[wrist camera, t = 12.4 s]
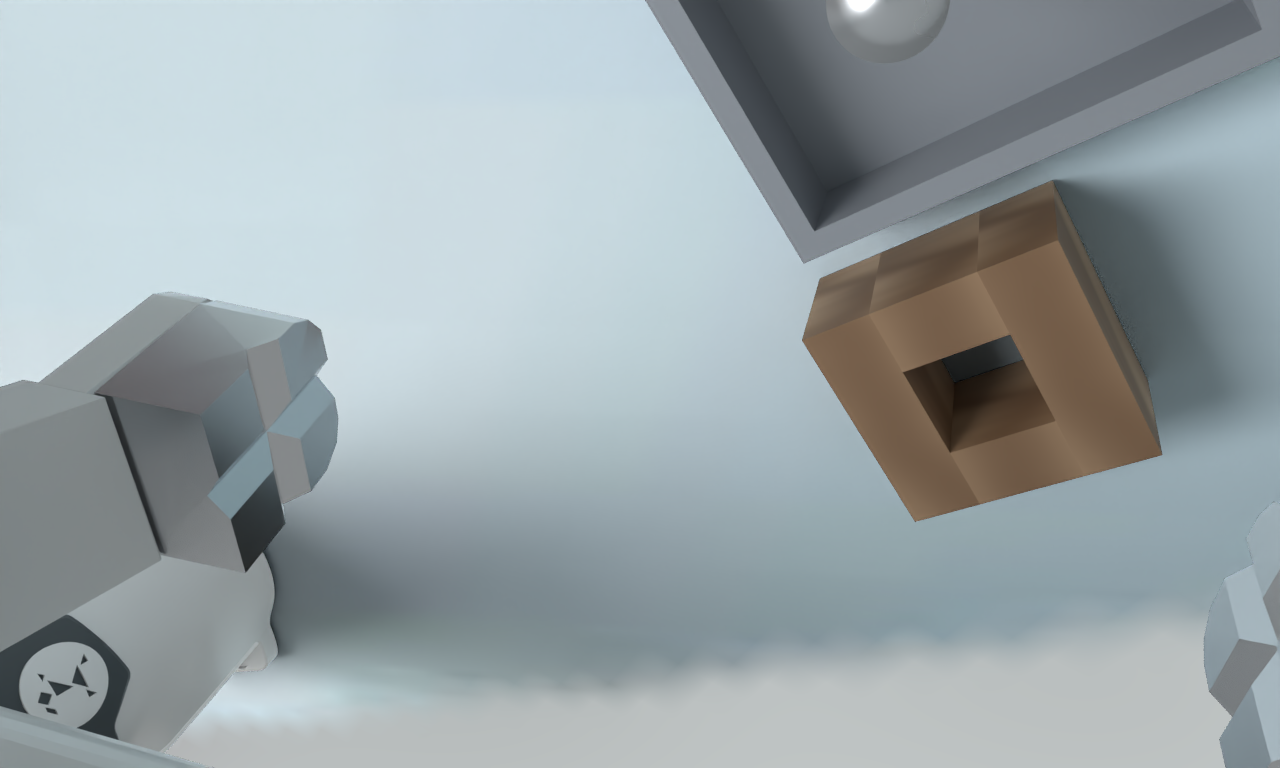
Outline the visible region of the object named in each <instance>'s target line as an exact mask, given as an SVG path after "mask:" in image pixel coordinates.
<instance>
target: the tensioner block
mask: <svg viewBox="0 0 1280 768" xmlns="http://www.w3.org/2000/svg"><path fill="white" fill-rule="evenodd" d="M1007 335H1011V337H1012V339H1013V341H1014V343H1015V345H1016V347H1017V349H1018V350H1019V352H1020V354H1021V356H1022V358H1023V360H1022V361H1019V362H1016V363H1013V364H1010V365H1007V366H1004V367H1001V368H998V369H995V370H992V371H989V372H986V373H983V374H980V375H977V376H974V377H971V378H968V379H965V380H963V381H960V382H957V383H954V381H953V379H952V378H951V376H950V374H949V372H948V371H947V369H946V367H945V365H944V364H943V362H942V360H941V359H942V358H945V357H948V356H951V355H954V354H956V353H959V352H962V351H965V350H968V349H971V348H973V347H976V346H979V345H982V344H985V343H988V342H990V341H993V340H996V339H999V338H1002V337H1005V336H1007ZM802 341H803V343H804V344H805V346H806V347H807V349H808V351H809V352H810V354H811V356H812V357H813V359H814V360H815V362H816V364H817V365H818V367H819V368H820V370H821V372H822V373H823V375H824V376H825V378H826V380H827V381H828V383H829V384H830V386H831V388H832V389H833V391H834V392H835V394H836V396H837V397H838V399H839V400H840V402H841V404H842V405H843V407H844V408H845V410H846V412H847V413H848V415H849V416H850V418H851V420H852V421H853V423H854V425H855V426H856V428H857V429H858V431H859V433H860V434H861V436H862V437H863V439H864V441H865V442H866V444H867V445H868V447H869V449H870V450H871V452H872V453H873V455H874V457H875V458H876V460H877V461H878V463H879V465H880V466H881V468H882V469H883V471H884V473H885V474H886V476H887V477H888V479H889V481H890V482H891V484H892V486H893V487H894V489H895V490H896V492H897V494H898V495H899V497H900V498H901V500H902V502H903V503H904V505H905V506H906V508H907V510H908V511H909V513H910V514H911V516H912V518H913V519H914V521H915V522H916V521H920V520H924V519H927V518H931V517H935V516H938V515H942V514H946V513H950V512H953V511H957V510H961V509H964V508H968V507H972V506H975V505H979V504H983V503H987V502H990V501H994V500H998V499H1001V498H1005V497H1009V496H1012V495H1016V494H1020V493H1024V492H1027V491H1031V490H1035V489H1038V488H1042V487H1046V486H1049V485H1053V484H1057V483H1061V482H1064V481H1068V480H1072V479H1075V478H1079V477H1083V476H1086V475H1090V474H1094V473H1098V472H1101V471H1105V470H1109V469H1112V468H1116V467H1120V466H1123V465H1127V464H1131V463H1135V462H1138V461H1142V460H1146V459H1149V458H1153V457H1157V456H1160V455H1162V451H1161V446H1160V441H1159V436H1158V430H1157V425H1156V420H1155V415H1154V410H1153V405H1152V400H1151V395H1150V390H1149V384H1148V380H1147V378H1146V376H1145V374H1144V372H1143V370H1142V367H1141V365H1140V363H1139V361H1138V359H1137V357H1136V355H1135V353H1134V351H1133V349H1132V346H1131V344H1130V342H1129V340H1128V338H1127V336H1126V334H1125V332H1124V330H1123V328H1122V325H1121V323H1120V321H1119V319H1118V317H1117V315H1116V313H1115V311H1114V309H1113V306H1112V304H1111V302H1110V300H1109V298H1108V296H1107V294H1106V292H1105V290H1104V288H1103V285H1102V283H1101V281H1100V279H1099V277H1098V275H1097V273H1096V271H1095V269H1094V267H1093V264H1092V262H1091V260H1090V258H1089V256H1088V254H1087V252H1086V250H1085V248H1084V245H1083V243H1082V241H1081V239H1080V237H1079V235H1078V233H1077V231H1076V229H1075V227H1074V224H1073V222H1072V220H1071V218H1070V216H1069V214H1068V212H1067V210H1066V208H1065V206H1064V203H1063V201H1062V199H1061V197H1060V195H1059V193H1058V191H1057V189H1056V187H1055V184H1054V182H1053V180H1052V181H1050V182H1047V183H1045V184H1043V185H1040V186H1038V187H1036V188H1033V189H1031V190H1029V191H1026V192H1024V193H1021V194H1019V195H1017V196H1014V197H1012V198H1010V199H1007V200H1005V201H1003V202H1000V203H998V204H995V205H993V206H991V207H988V208H986V209H984V210H981V211H979V212H977V213H974V214H972V215H969V216H967V217H965V218H962V219H960V220H958V221H955V222H953V223H950V224H948V225H946V226H943V227H941V228H939V229H936V230H934V231H932V232H929V233H927V234H924V235H922V236H920V237H917V238H915V239H913V240H910V241H908V242H906V243H903V244H901V245H898V246H896V247H894V248H891V249H889V250H887V251H884V252H882V253H880V254H877V255H875V256H872V257H870V258H868V259H865V260H863V261H861V262H858V263H856V264H854V265H851V266H849V267H846V268H844V269H842V270H839V271H837V272H835V273H832V274H830V275H827V276H825V277H823V278H820V280H819V283H818V287H817V290H816V294H815V297H814V301H813V304H812V308H811V311H810V315H809V318H808V322H807V325H806V328H805V332H804V335H803V339H802Z"/></svg>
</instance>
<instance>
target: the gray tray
mask: <svg viewBox="0 0 1280 768" xmlns="http://www.w3.org/2000/svg"><path fill="white" fill-rule="evenodd" d="M645 1H646V2H647V4H648V6H649V7H650V9H651V11H652V12H653V14H654V16H655V17H656V19H657V20H658V22H659V24H660V25H661V27H662V29H663V30H664V32H665V34H666V35H667V37H668V39H669V40H670V42H671V44H672V45H673V47H674V49H675V50H676V52H677V54H678V55H679V57H680V59H681V60H682V62H683V64H684V65H685V67H686V69H687V70H688V72H689V74H690V75H691V77H692V79H693V80H694V82H695V84H696V85H697V87H698V89H699V90H700V92H701V94H702V95H703V97H704V99H705V100H706V102H707V104H708V105H709V107H710V109H711V110H712V112H713V114H714V115H715V117H716V119H717V120H718V122H719V124H720V125H721V127H722V129H723V130H724V132H725V134H726V135H727V137H728V139H729V140H730V142H731V144H732V145H733V147H734V149H735V150H736V152H737V154H738V155H739V157H740V158H741V160H742V162H743V163H744V165H745V167H746V168H747V170H748V172H749V173H750V175H751V177H752V178H753V180H754V182H755V183H756V185H757V187H758V188H759V190H760V192H761V193H762V195H763V197H764V198H765V200H766V202H767V203H768V205H769V207H770V208H771V210H772V212H773V213H774V215H775V217H776V218H777V220H778V222H779V223H780V225H781V227H782V228H783V230H784V232H785V233H786V235H787V237H788V238H789V240H790V242H791V243H792V245H793V247H794V248H795V250H796V252H797V253H798V255H799V257H800V258H801V260H802V262H803V263H806V262H808V261H811V260H813V259H815V258H818V257H820V256H822V255H824V254H827V253H829V252H831V251H834V250H836V249H838V248H841V247H843V246H845V245H847V244H850V243H852V242H854V241H857V240H859V239H861V238H863V237H866V236H868V235H870V234H873V233H875V232H877V231H880V230H882V229H884V228H886V227H889V226H891V225H893V224H896V223H898V222H900V221H903V220H905V219H907V218H909V217H912V216H914V215H916V214H919V213H921V212H923V211H925V210H928V209H930V208H932V207H935V206H937V205H939V204H942V203H944V202H946V201H948V200H951V199H953V198H955V197H958V196H960V195H962V194H965V193H967V192H969V191H971V190H974V189H976V188H978V187H981V186H983V185H985V184H988V183H990V182H992V181H994V180H997V179H999V178H1001V177H1004V176H1006V175H1008V174H1010V173H1013V172H1015V171H1017V170H1020V169H1022V168H1024V167H1027V166H1029V165H1031V164H1033V163H1036V162H1038V161H1040V160H1043V159H1045V158H1047V157H1050V156H1052V155H1054V154H1056V153H1059V152H1061V151H1063V150H1066V149H1068V148H1070V147H1072V146H1075V145H1077V144H1079V143H1082V142H1084V141H1086V140H1089V139H1091V138H1093V137H1095V136H1098V135H1100V134H1102V133H1105V132H1107V131H1109V130H1112V129H1114V128H1116V127H1118V126H1121V125H1123V124H1125V123H1128V122H1130V121H1132V120H1134V119H1137V118H1139V117H1141V116H1144V115H1146V114H1148V113H1151V112H1153V111H1155V110H1157V109H1160V108H1162V107H1164V106H1167V105H1169V104H1171V103H1174V102H1176V101H1178V100H1180V99H1183V98H1185V97H1187V96H1190V95H1192V94H1194V93H1197V92H1199V91H1201V90H1203V89H1206V88H1208V87H1210V86H1213V85H1215V84H1217V83H1219V82H1222V81H1224V80H1226V79H1229V78H1231V77H1233V76H1236V75H1238V74H1240V73H1242V72H1245V71H1247V70H1249V69H1252V68H1254V67H1256V66H1259V65H1261V64H1263V63H1265V62H1268V61H1270V60H1272V59H1275V58H1277V57H1279V56H1280V0H950V6H949V11H948V15H947V18H946V21H945V23H944V25H943V27H942V29H941V31H940V33H939V34H938V35H937V37H936V38H935V39H934V40H933V42H932V43H931V44H930V45H929V46H928V47H926V48H925V49H924V50H923V51H921V52H920V53H918V54H917V55H915V56H913V57H911V58H909V59H906V60H903V61H900V62H895V63H874V62H869V61H866V60H863V59H860V58H858V57H856V56H854V55H853V54H851V53H850V52H849V51H847V50H846V49H845V48H844V47H843V46H842V45H841V44H840V43H839V42H838V40H837V39H836V37H835V36H834V34H833V32H832V30H831V28H830V25H829V22H828V18H827V13H826V0H645Z"/></svg>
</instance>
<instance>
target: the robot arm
mask: <svg viewBox="0 0 1280 768" xmlns="http://www.w3.org/2000/svg"><path fill="white" fill-rule="evenodd" d="M327 360H328V358H327V354H326V350H325V345H324V341H323V337H322V332H321V329H319V328H318V327H317V326H315V325H314V324H313V323H312V322H310V321H309V320H307V319H302V318H297V317H292V316H288V315H283V314H278V313H273V312H269V311H264V310H259V309H255V308H250V307H245V306H240V305H236V304H231V303H226V302H222V301H212V300H209V299H205V298H200V297H195V296H190V295H185V294H180V293H175V292H165V293H157V294H152V295H151V296H150V297H148V298H147V299H146V300H145V301H143V302H142V303H141V304H139V305H138V306H137V307H135V308H134V309H133V310H132V311H130V312H129V313H128V314H126V315H125V316H124V317H123V318H121V319H120V320H119V321H117V322H116V323H115V324H114V325H112V326H111V327H110V328H108V329H107V330H106V331H105V332H103V333H102V334H101V335H99V336H98V337H97V338H95V339H94V340H93V341H92V342H90V343H89V344H88V345H86V346H85V347H84V348H83V349H81V350H80V351H79V352H77V353H76V354H75V355H74V356H72V357H71V358H70V359H68V360H67V361H66V362H64V363H63V364H62V365H61V366H59V367H58V368H57V369H55V370H54V371H53V372H52V373H50V374H49V375H48V376H46V377H45V378H44V379H43V380H41V381H40V382H39V383H37V382H32V381H27V380H21V381H18V382H15V383H12V384H9V385H5V386H2V387H0V768H214V767H210V766H206V765H203V764H200V763H196V762H193V761H189V760H186V759H182V758H178V757H175V756H171V755H168V754H165V753H164V752H166V751H167V750H168V749H169V748H170V747H171V746H172V745H173V744H174V743H175V742H176V740H177V739H178V738H179V737H180V736H181V735H182V733H183V732H184V731H185V730H186V729H187V728H188V726H189V725H190V724H191V723H192V722H193V721H194V719H195V718H196V717H197V716H198V715H199V714H200V712H201V711H202V710H203V709H204V708H205V707H206V705H207V704H208V703H209V702H210V701H211V700H212V698H213V697H214V696H215V695H216V694H217V692H218V691H219V690H220V689H221V688H222V687H223V685H224V684H225V683H226V682H227V681H228V679H229V678H230V677H231V676H232V675H233V673H234V672H244V671H259V670H263V669H265V668H267V666H268V665H269V664H270V663H271V662H272V661H273V660H274V659H275V658H276V656H277V654H278V648H277V644H276V640H275V637H274V634H273V631H272V629H271V626H270V616H271V612H272V608H273V604H274V597H275V590H274V582H273V577H272V573H271V570H270V567H269V564H268V562H267V560H266V557H265V555H264V553H263V551H264V550H265V548H266V547H267V546H268V545H269V543H270V542H271V541H272V540H273V538H274V537H275V536H276V535H277V533H278V532H279V531H280V530H281V528H282V527H283V526H284V525H285V523H286V522H285V514H284V505H283V504H284V503H286V502H288V501H291V500H293V499H295V498H297V497H299V496H301V495H304V494H306V493H308V492H310V491H311V490H312V489H313V488H314V486H315V485H316V484H317V482H318V481H319V480H320V478H321V477H322V476H323V474H324V473H325V472H326V470H327V468H328V465H329V462H330V460H331V457H332V454H333V451H334V449H335V446H336V443H337V431H338V414H337V408H336V402H335V397H334V396H333V395H332V394H331V393H330V391H329V390H328V389H327V388H326V387H325V385H324V384H323V383H322V382H321V380H320V379H319V378H318V377H317V376H316V375H317V374H318V373H319V371H320V370H321V368H322V367H323V365H324V364H325V363H326V361H327ZM1246 541H1247V544H1248V548H1249V552H1250V555H1251V559H1252V562H1253V564H1252V565H1250V566H1248V567H1246V568H1244V569H1242V570H1240V571H1238V572H1236V573H1234V574H1232V575H1230V576H1228V577H1226V578H1224V580H1223V582H1222V584H1221V586H1220V589H1219V591H1218V593H1217V595H1216V597H1215V599H1214V601H1213V603H1212V605H1211V607H1210V611H1209V616H1208V621H1207V626H1206V631H1205V636H1204V667H1205V672H1206V677H1207V682H1208V687H1209V692H1210V693H1211V694H1212V695H1213V696H1214V697H1215V698H1216V699H1217V700H1218V702H1219V703H1220V704H1221V705H1222V706H1223V707H1224V708H1225V709H1226V710H1227V711H1228V712H1229V713H1230V715H1231V716H1232V719H1231V721H1230V722H1229V724H1228V726H1227V727H1226V729H1225V730H1224V732H1223V734H1222V735H1221V737H1220V739H1219V740H1220V745H1221V749H1222V753H1223V758H1224V763H1225V767H1226V768H1280V503H1277V502H1272V503H1271V504H1270V505H1269V506H1268V507H1267V508H1266V509H1265V510H1264V511H1263V512H1262V513H1260V514H1259V516H1258V517H1257V519H1256V521H1255V523H1254V525H1253V526H1252V528H1251V530H1250V532H1249V534H1248V535H1247V537H1246Z"/></svg>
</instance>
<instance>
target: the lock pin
mask: <svg viewBox="0 0 1280 768" xmlns="http://www.w3.org/2000/svg"><path fill="white" fill-rule="evenodd" d="M949 6H950V0H826V13H827V18H828V22H829V25H830V28H831V30H832V32H833V34H834V36H835V37H836V39H837V40H838V42H839V43H840V44H841V45H842V46H843V47H844V48H845V49H846V50H847V51H849V52H850V53H851V54H853V55H854V56H856V57H858V58H860V59H863V60H866V61H869V62H874V63H895V62H900V61H903V60H906V59H909V58H911V57H913V56H915V55H917V54H918V53H920V52H921V51H923V50H924V49H925V48H926V47H928V46H929V45H930V44H931V43H932V42H933V40H934V39H935V38H936V37H937V35H938V34H939V33H940V31H941V29H942V27H943V25H944V23H945V21H946V18H947V15H948V11H949Z"/></svg>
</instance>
